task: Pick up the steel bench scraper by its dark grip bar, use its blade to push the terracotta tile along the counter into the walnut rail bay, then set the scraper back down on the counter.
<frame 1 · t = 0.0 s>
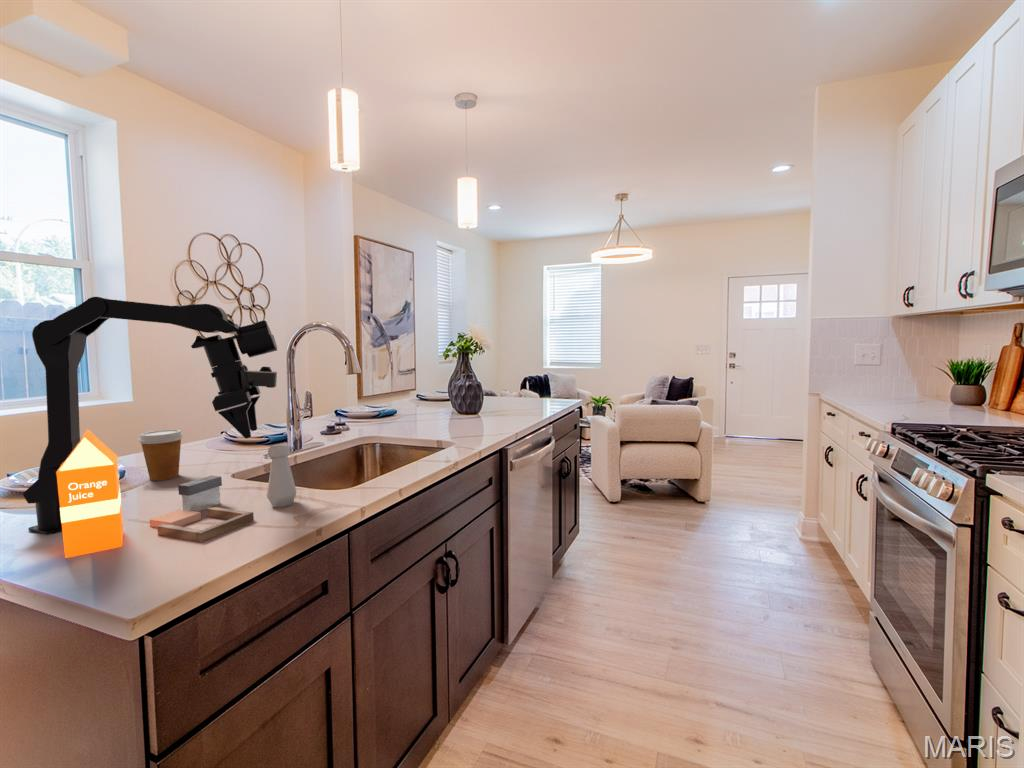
hand: (251, 433, 108), 15 cm above the worktop, tool pointing down, fingers open, 9 cm apart
orange juice: (96, 545, 89), on the worktop
bay: (205, 526, 97), on the worktop
disposable coffee cup: (164, 478, 133), on the worktop
tile: (176, 524, 99), on the worktop
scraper: (202, 508, 108), on the worktop
salt shaker: (282, 505, 109), on the worktop
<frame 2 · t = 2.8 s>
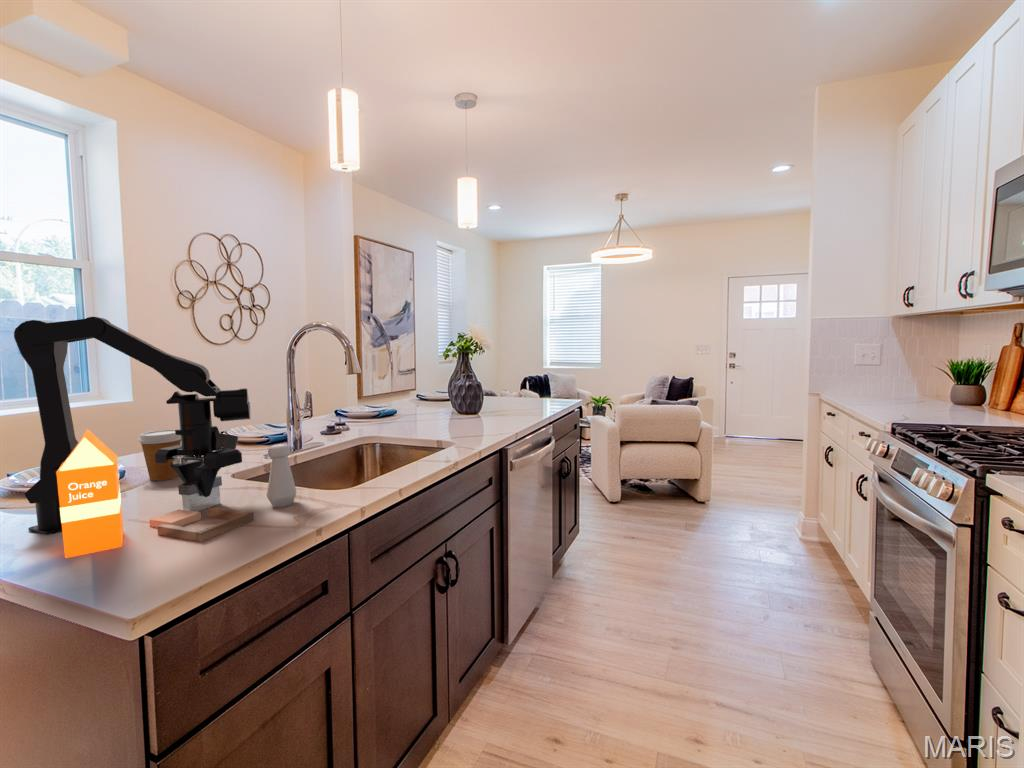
hand: (201, 495, 108), 3 cm above the worktop, tool pointing down, fingers closed on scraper, 3 cm apart
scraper: (202, 507, 108), on the worktop, touching gripper
everything else where it was.
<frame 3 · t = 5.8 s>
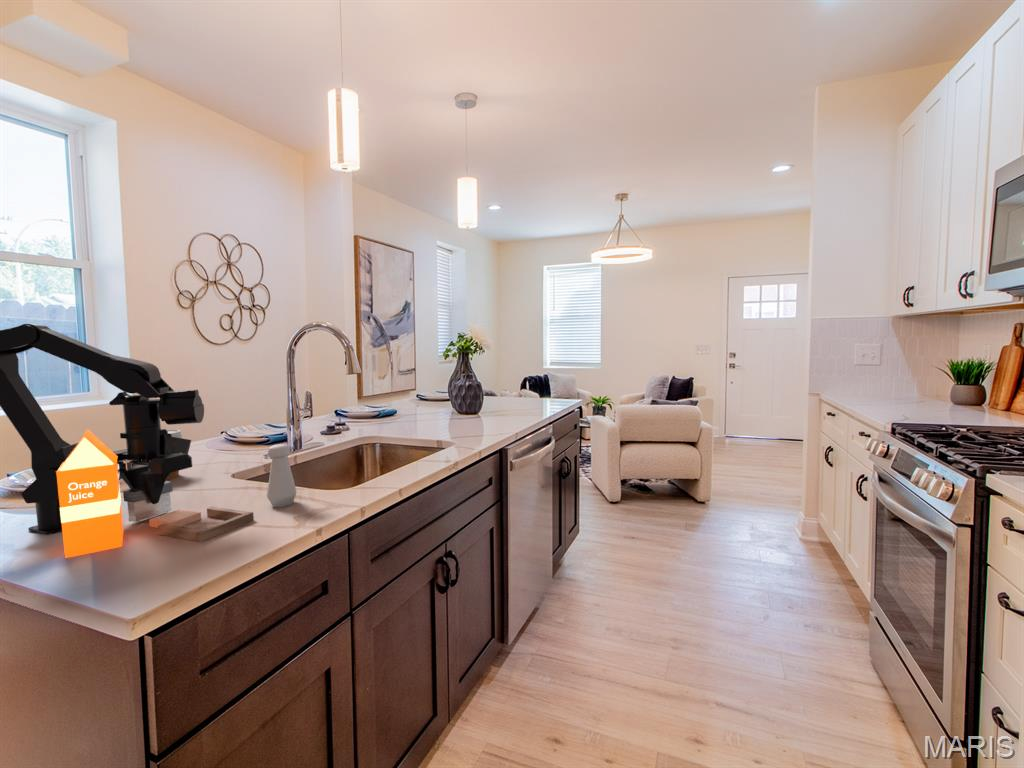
hand: (149, 502, 102), 3 cm above the worktop, tool pointing down, fingers closed on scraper, 3 cm apart
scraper: (150, 515, 102), point 1 cm above the worktop, touching gripper
everything else where it was.
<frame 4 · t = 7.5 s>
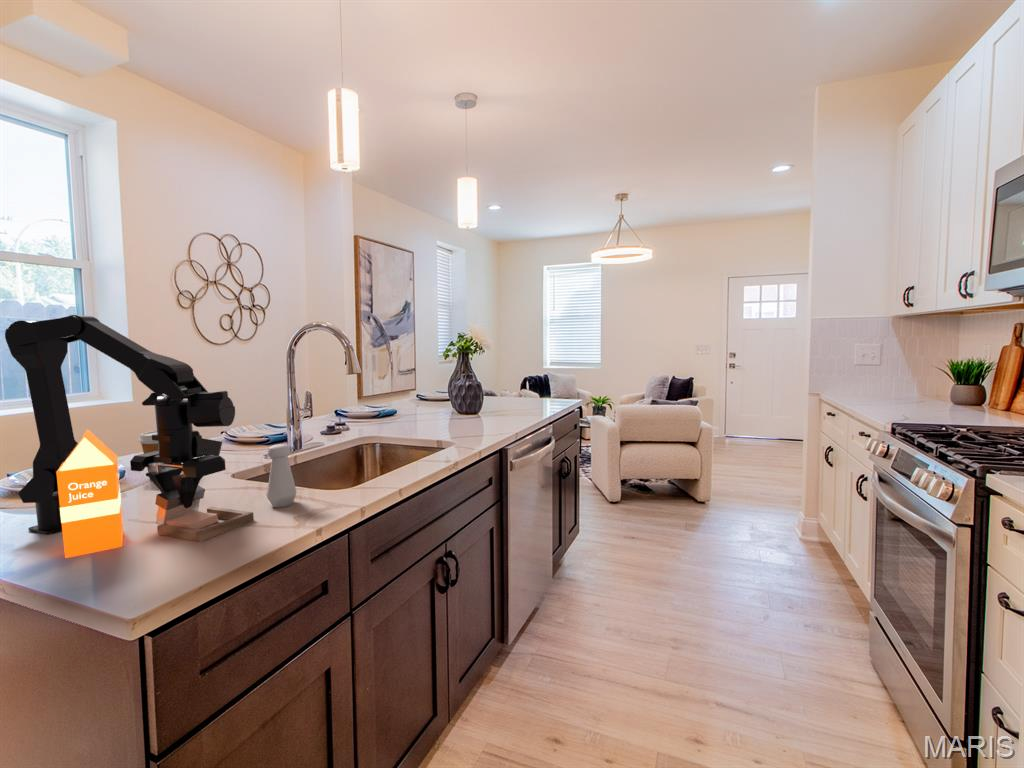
hand: (181, 506, 98), 3 cm above the worktop, tool pointing down, fingers closed on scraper, 3 cm apart
tile: (192, 526, 98), on the worktop, touching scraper
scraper: (177, 519, 99), point 1 cm above the worktop, tilted 18°, touching gripper, tile
everything else where it was.
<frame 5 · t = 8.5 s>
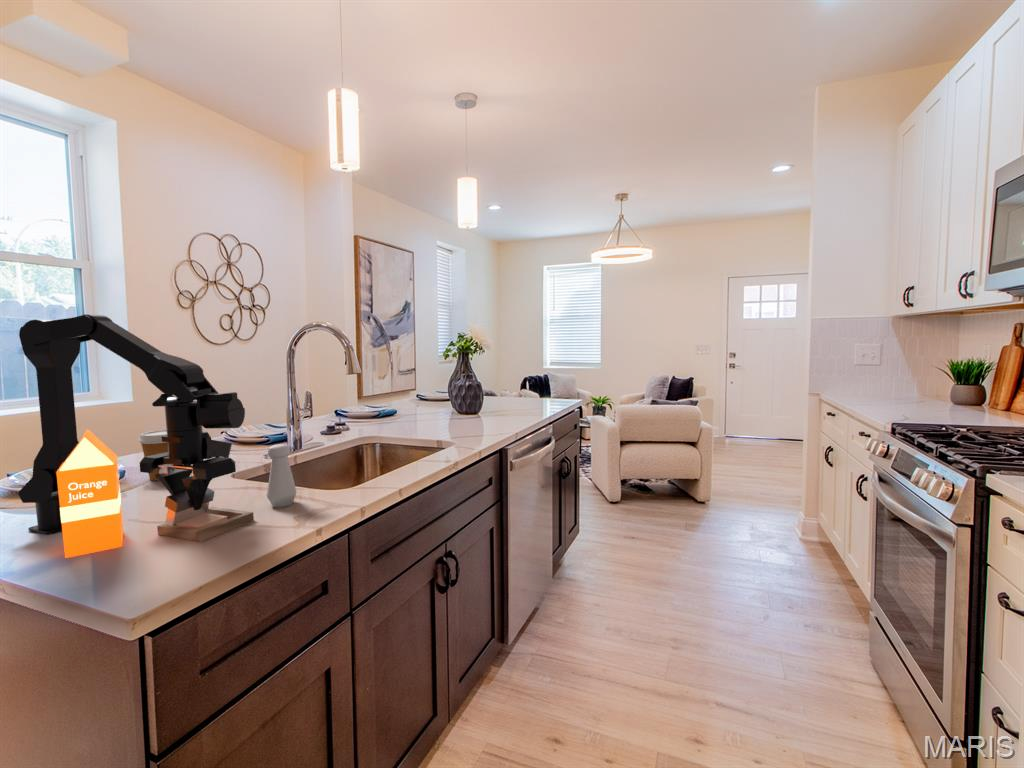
hand: (190, 508, 98), 3 cm above the worktop, tool pointing down, fingers closed on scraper, 3 cm apart
tile: (202, 529, 97), on the worktop
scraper: (186, 521, 98), on the worktop, tilted 19°, touching gripper
everything else where it was.
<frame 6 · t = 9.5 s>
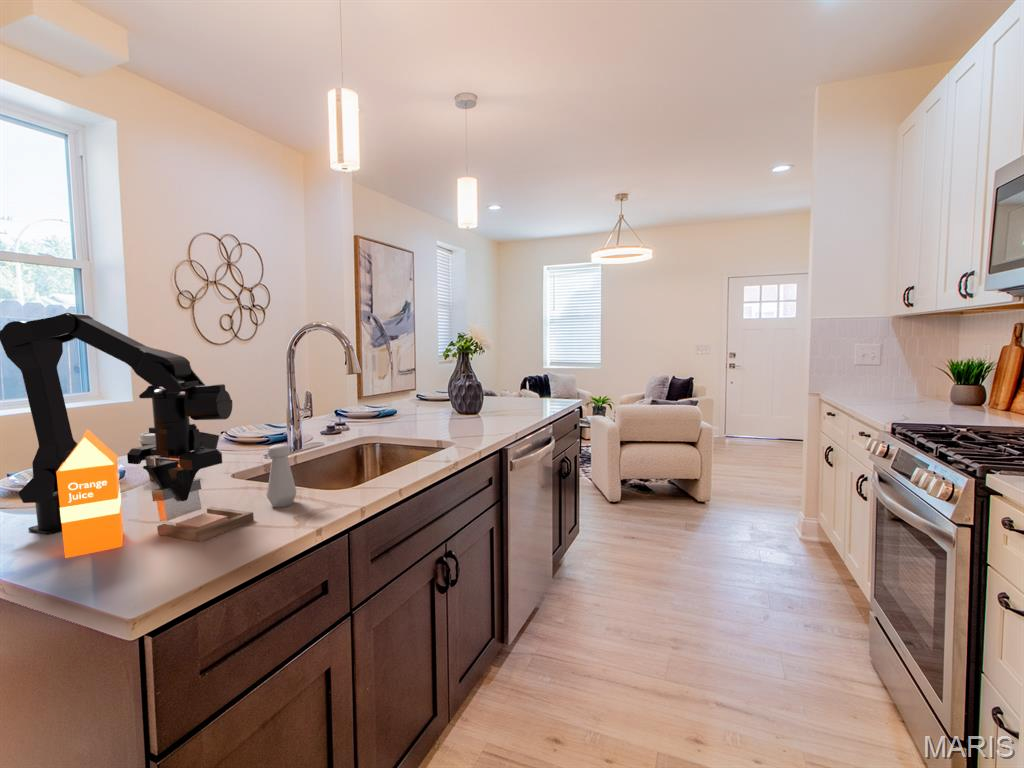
hand: (177, 499, 99), 5 cm above the worktop, tool pointing down, fingers closed on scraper, 3 cm apart
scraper: (181, 514, 99), point 2 cm above the worktop, tilted 7°, touching gripper
everything else where it was.
when the fingers open (3 cm above the worktop, at t = 12.1 s): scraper stays where it is, on the worktop.
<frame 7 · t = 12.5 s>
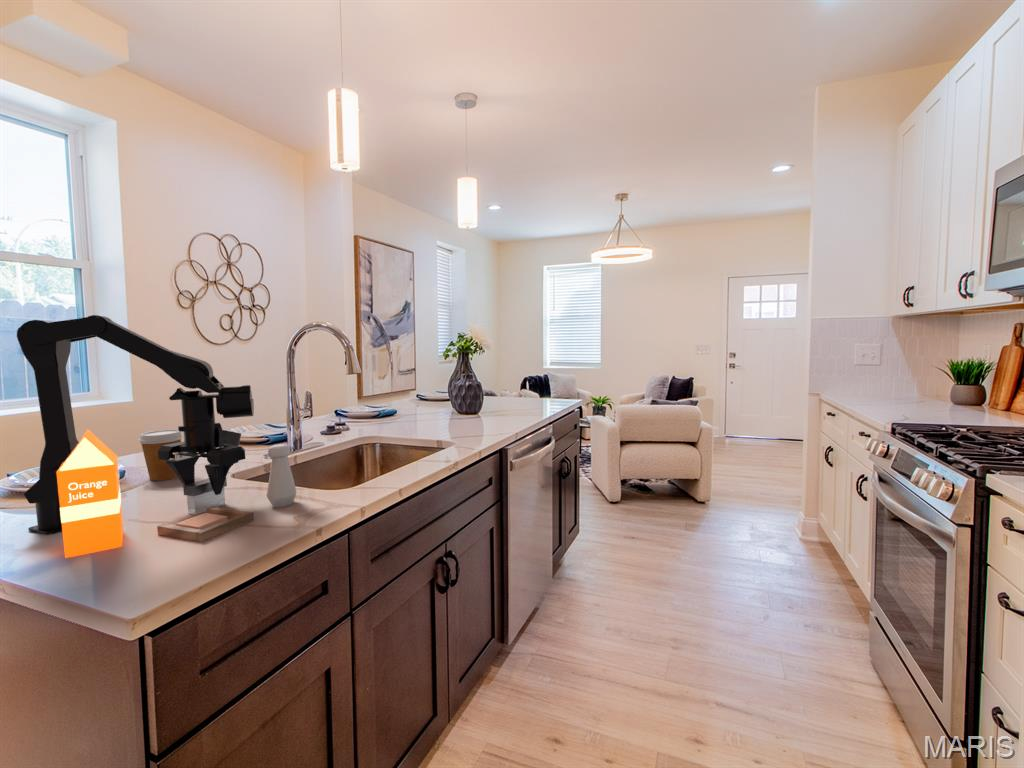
hand: (204, 492, 107), 3 cm above the worktop, tool pointing down, fingers open, 8 cm apart
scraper: (207, 508, 107), on the worktop
everything else where it was.
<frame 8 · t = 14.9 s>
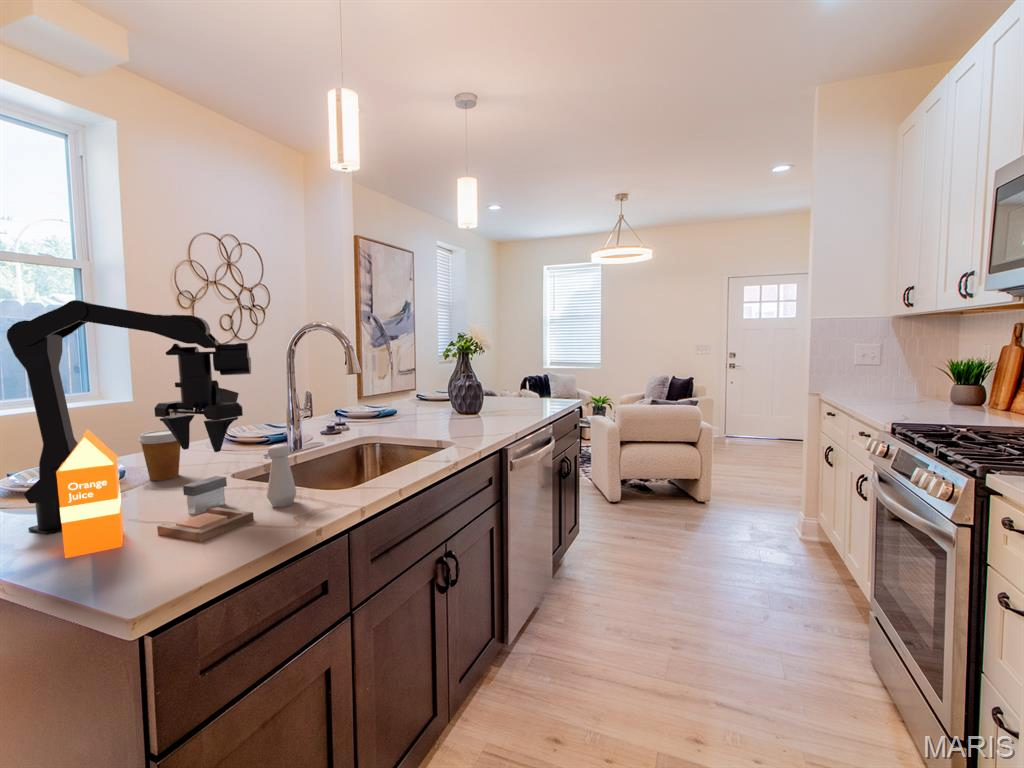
hand: (201, 450, 106), 12 cm above the worktop, tool pointing down, fingers open, 9 cm apart
nothing on the worktop moved.
at the end: tile inside the target area on the bay (1.1 cm from its centre), point -0.5 cm above the bay's base; the gripper is holding nothing; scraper on the worktop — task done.
